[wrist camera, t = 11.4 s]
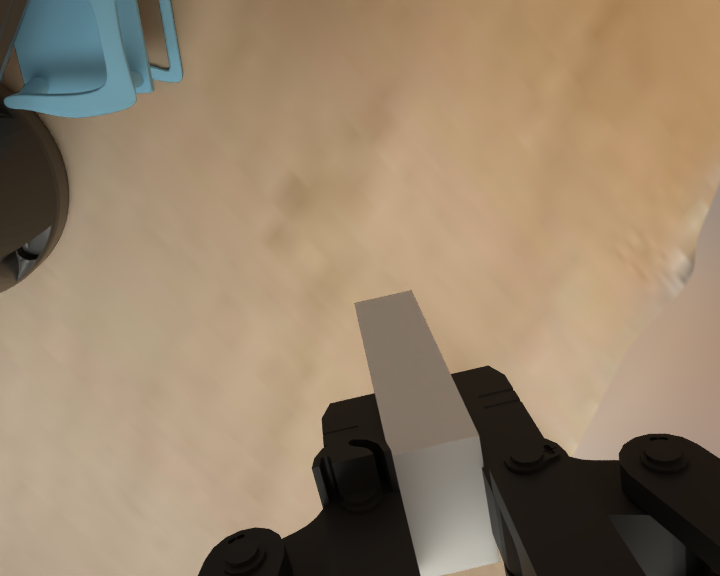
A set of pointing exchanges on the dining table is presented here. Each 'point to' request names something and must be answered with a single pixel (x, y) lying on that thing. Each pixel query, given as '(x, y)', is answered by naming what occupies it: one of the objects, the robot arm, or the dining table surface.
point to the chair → (88, 57)
